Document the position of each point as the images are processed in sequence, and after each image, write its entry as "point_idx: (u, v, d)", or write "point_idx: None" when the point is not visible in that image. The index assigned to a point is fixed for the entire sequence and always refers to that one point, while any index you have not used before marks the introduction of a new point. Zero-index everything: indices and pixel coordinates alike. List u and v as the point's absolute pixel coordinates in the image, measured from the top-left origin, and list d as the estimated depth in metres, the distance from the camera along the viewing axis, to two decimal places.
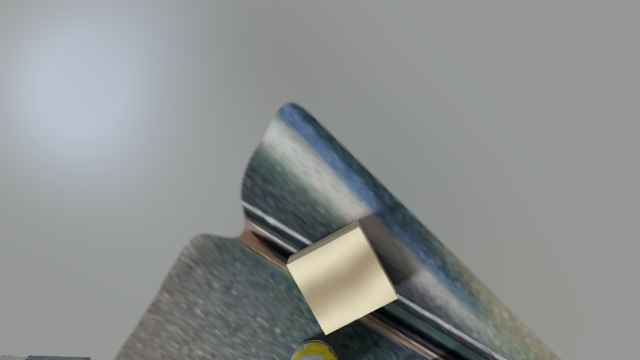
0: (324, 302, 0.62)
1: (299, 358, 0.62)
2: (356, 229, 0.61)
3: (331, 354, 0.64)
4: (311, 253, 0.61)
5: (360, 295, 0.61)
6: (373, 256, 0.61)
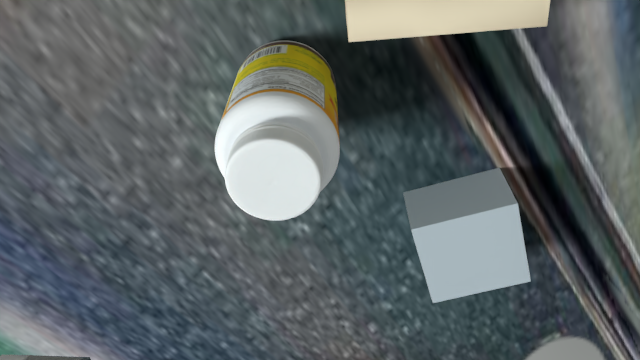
0: None
1: (270, 69, 0.26)
2: None
3: (334, 88, 0.29)
4: None
5: None
6: None
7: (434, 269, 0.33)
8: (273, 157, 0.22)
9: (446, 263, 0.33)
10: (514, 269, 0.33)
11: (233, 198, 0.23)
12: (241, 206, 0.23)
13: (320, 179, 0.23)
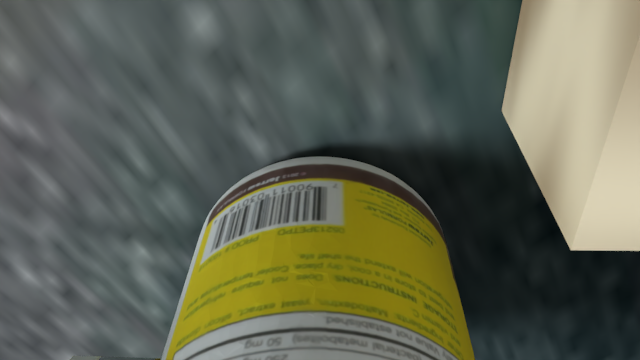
0: None
1: (298, 328, 0.08)
2: None
3: None
4: None
5: None
6: None
7: None
8: None
9: None
10: None
11: None
12: None
13: None
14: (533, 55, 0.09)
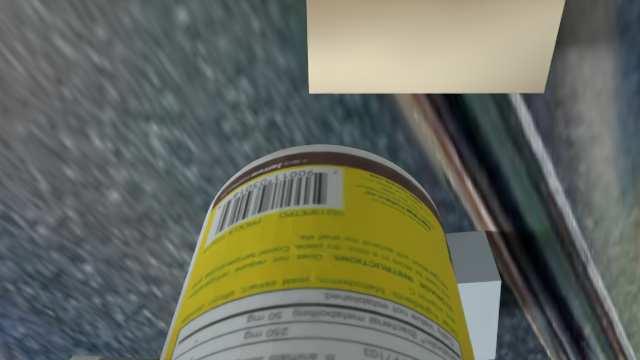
0: (353, 6, 0.20)
1: (298, 303, 0.08)
2: None
3: None
4: None
5: (461, 37, 0.20)
6: None
7: None
8: None
9: None
10: (480, 345, 0.30)
11: None
12: None
13: None
14: None
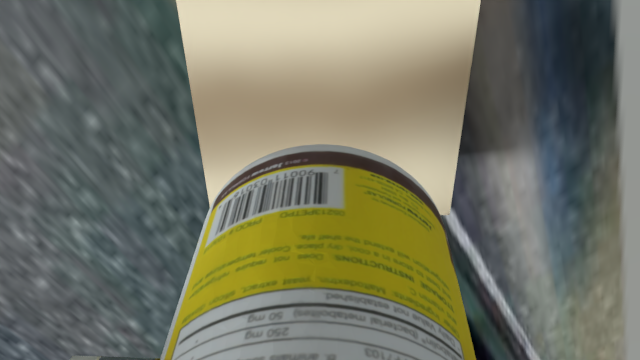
0: (246, 137, 0.19)
1: (299, 303, 0.08)
2: None
3: None
4: None
5: None
6: (463, 83, 0.18)
7: None
8: None
9: None
10: None
11: None
12: None
13: None
14: None
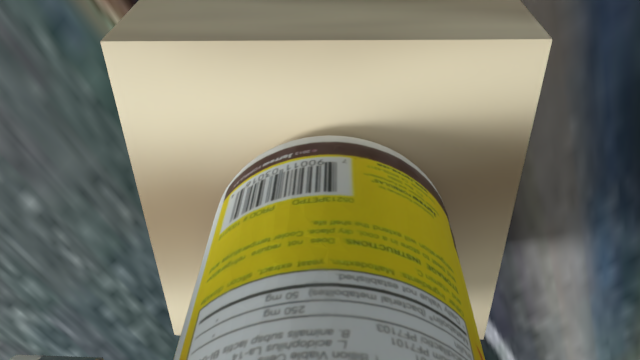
0: None
1: (314, 283, 0.08)
2: (531, 44, 0.11)
3: None
4: (251, 47, 0.11)
5: None
6: (511, 188, 0.13)
7: None
8: None
9: None
10: None
11: None
12: None
13: None
14: None
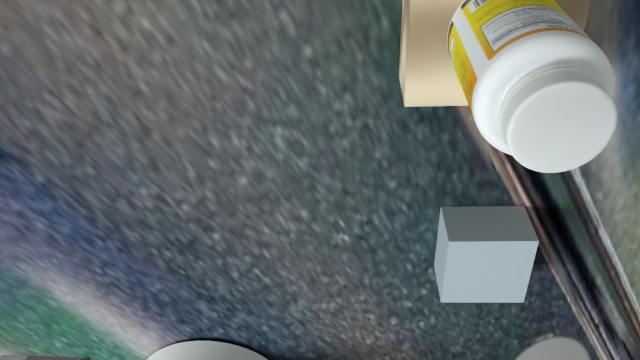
0: (439, 49, 0.30)
1: (530, 8, 0.24)
2: None
3: None
4: None
5: None
6: (586, 8, 0.28)
7: (453, 277, 0.40)
8: (574, 102, 0.20)
9: (465, 273, 0.40)
10: (515, 290, 0.40)
11: (511, 146, 0.21)
12: (517, 155, 0.21)
13: (614, 130, 0.21)
14: (401, 59, 0.33)
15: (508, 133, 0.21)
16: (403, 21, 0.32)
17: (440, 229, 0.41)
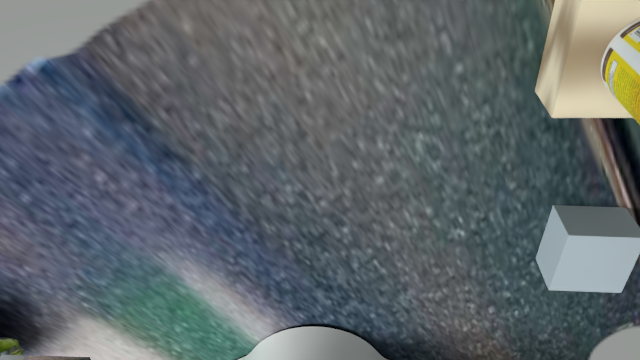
0: (590, 70, 0.35)
1: None
2: None
3: None
4: None
5: None
6: None
7: (565, 267, 0.45)
8: None
9: (576, 264, 0.45)
10: (616, 281, 0.46)
11: None
12: None
13: None
14: (543, 77, 0.39)
15: None
16: (551, 45, 0.37)
17: (551, 225, 0.47)
